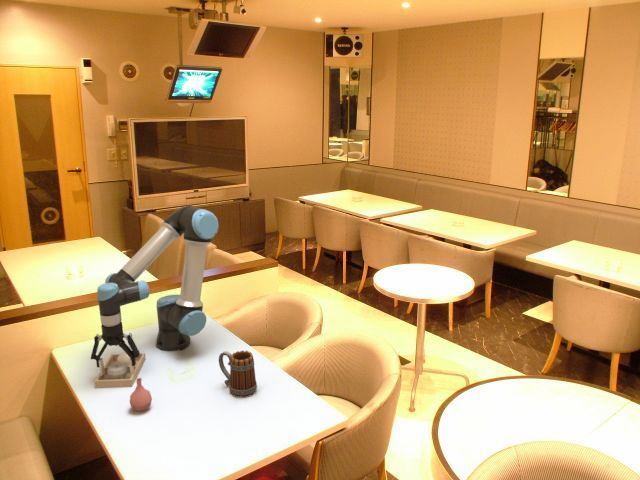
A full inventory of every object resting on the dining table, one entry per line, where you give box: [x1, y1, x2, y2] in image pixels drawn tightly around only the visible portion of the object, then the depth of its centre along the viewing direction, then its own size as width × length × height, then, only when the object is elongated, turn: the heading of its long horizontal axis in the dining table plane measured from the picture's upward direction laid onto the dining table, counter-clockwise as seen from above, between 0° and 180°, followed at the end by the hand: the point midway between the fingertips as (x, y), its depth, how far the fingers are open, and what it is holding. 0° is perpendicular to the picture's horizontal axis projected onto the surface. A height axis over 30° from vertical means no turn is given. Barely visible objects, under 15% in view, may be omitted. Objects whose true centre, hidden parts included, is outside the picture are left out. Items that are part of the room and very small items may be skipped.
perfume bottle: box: [129, 377, 153, 412], centre depth 198 cm, size 8×8×12 cm
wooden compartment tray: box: [94, 352, 147, 389], centre depth 223 cm, size 14×22×4 cm, turn 4°
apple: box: [107, 362, 127, 380], centre depth 217 cm, size 8×8×7 cm
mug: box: [218, 350, 258, 398], centre depth 210 cm, size 16×11×15 cm
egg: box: [117, 352, 130, 366], centre depth 227 cm, size 6×6×6 cm
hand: (117, 373), depth 217 cm, fingers open, 11 cm apart
